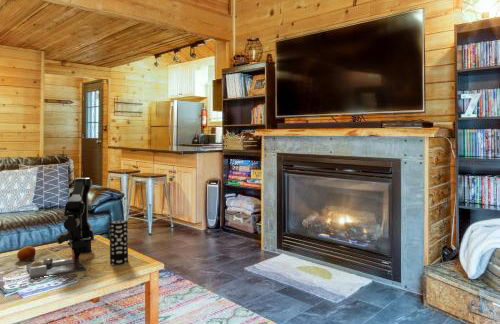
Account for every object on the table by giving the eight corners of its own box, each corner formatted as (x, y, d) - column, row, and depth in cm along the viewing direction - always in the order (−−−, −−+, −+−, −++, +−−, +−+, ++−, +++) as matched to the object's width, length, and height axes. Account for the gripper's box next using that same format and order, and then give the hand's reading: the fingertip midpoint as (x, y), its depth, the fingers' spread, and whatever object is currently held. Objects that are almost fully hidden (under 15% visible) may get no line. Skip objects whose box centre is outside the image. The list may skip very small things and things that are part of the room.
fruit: (31, 260, 190) (23, 245, 191) (19, 267, 192) (11, 253, 192) (42, 255, 198) (35, 241, 199) (31, 262, 200) (24, 248, 200)
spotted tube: (131, 261, 193) (131, 221, 192) (119, 266, 186) (118, 224, 185) (118, 259, 197) (118, 219, 196) (106, 263, 189) (105, 222, 188)
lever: (33, 269, 177) (33, 256, 177) (32, 266, 180) (32, 254, 180) (80, 261, 188) (80, 250, 188) (78, 259, 191) (78, 248, 191)
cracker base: (76, 258, 197) (76, 250, 197) (86, 270, 179) (85, 260, 179) (26, 266, 185) (26, 257, 185) (31, 279, 167) (30, 269, 167)
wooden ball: (43, 269, 177) (42, 258, 177) (44, 272, 173) (44, 261, 172) (30, 271, 174) (30, 260, 174) (31, 275, 170) (31, 263, 170)
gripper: (53, 224, 191) (54, 256, 192) (59, 231, 176) (60, 266, 176) (78, 222, 197) (78, 252, 198) (86, 228, 182) (86, 262, 183)
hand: (75, 258), depth 189 cm, fingers closed on lever, 3 cm apart
